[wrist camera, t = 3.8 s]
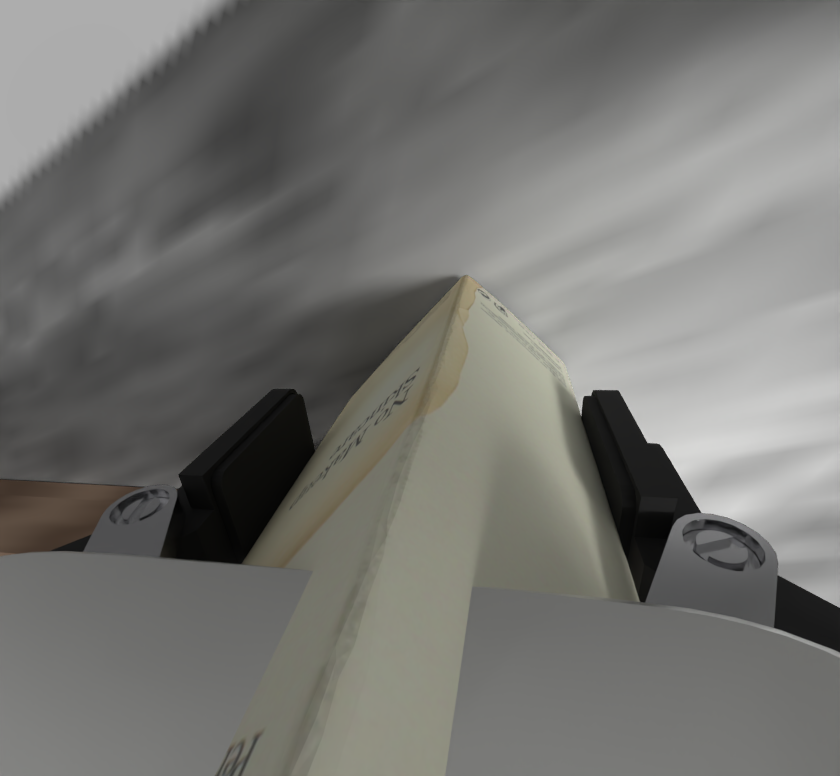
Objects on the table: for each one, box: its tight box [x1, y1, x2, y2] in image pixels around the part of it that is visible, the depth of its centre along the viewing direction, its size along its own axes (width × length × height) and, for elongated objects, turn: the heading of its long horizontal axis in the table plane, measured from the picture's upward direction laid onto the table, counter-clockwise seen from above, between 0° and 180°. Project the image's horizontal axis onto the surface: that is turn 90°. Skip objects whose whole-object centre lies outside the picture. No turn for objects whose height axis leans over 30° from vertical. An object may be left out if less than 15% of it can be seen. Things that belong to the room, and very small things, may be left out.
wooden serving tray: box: [0, 479, 178, 556], centre depth 20 cm, size 29×16×5 cm, turn 95°
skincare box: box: [215, 275, 640, 776], centre depth 9 cm, size 6×4×12 cm
